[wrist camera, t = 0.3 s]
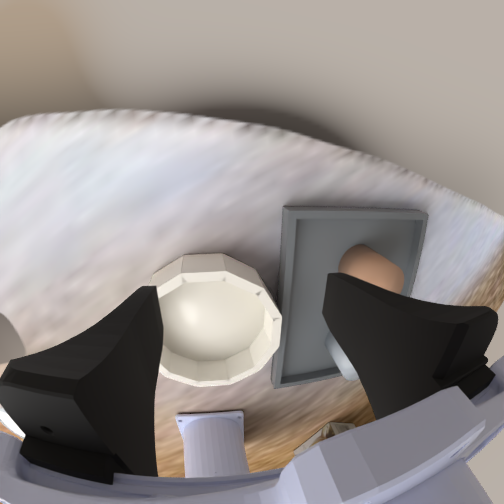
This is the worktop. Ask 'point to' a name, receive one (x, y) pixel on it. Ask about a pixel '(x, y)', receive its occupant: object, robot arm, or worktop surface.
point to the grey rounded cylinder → (340, 358)
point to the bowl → (215, 320)
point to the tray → (327, 261)
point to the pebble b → (372, 268)
